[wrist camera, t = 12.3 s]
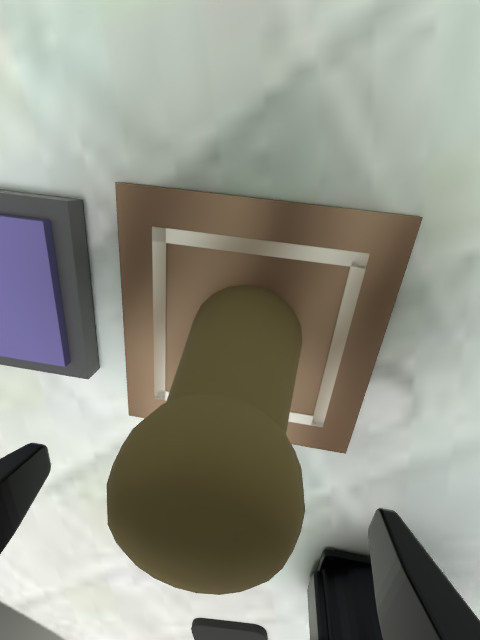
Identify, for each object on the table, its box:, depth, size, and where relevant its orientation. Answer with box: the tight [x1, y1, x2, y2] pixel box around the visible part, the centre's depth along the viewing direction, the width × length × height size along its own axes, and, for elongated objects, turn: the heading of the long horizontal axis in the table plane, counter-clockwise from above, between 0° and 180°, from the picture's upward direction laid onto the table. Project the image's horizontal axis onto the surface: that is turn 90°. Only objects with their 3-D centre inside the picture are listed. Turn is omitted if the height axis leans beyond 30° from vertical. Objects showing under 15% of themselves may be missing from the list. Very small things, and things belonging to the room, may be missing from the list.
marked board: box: [115, 182, 423, 454], centre depth 17 cm, size 14×14×1 cm
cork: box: [107, 285, 305, 595], centre depth 12 cm, size 6×6×11 cm
